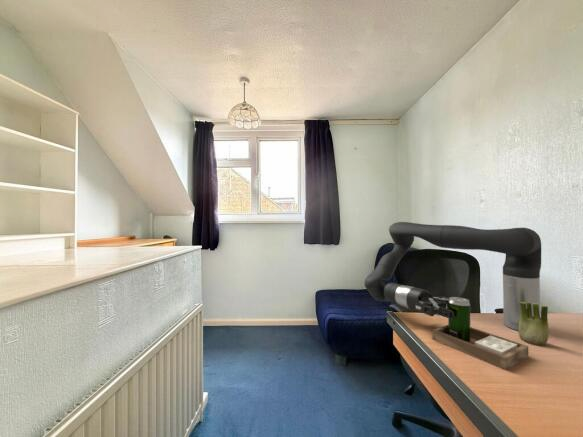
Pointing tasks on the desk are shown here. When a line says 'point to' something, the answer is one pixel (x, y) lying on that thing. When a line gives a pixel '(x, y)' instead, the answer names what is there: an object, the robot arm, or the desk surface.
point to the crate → (479, 352)
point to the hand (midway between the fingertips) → (462, 312)
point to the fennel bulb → (533, 324)
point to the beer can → (459, 318)
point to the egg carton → (496, 345)
